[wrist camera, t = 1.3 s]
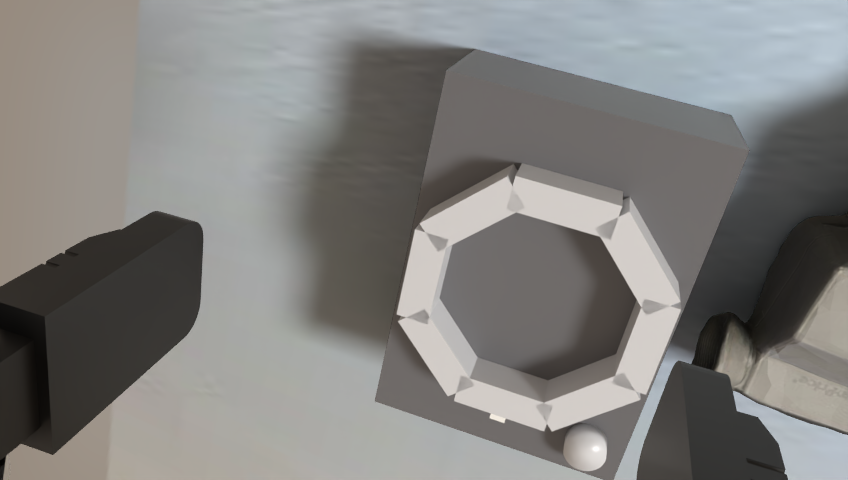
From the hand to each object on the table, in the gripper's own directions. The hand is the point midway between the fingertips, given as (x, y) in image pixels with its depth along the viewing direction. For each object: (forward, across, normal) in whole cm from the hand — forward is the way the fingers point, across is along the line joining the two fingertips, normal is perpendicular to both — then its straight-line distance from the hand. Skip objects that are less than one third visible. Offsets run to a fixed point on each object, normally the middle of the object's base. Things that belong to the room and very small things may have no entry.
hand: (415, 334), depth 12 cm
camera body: (+19, -2, +6) cm, 20 cm away
